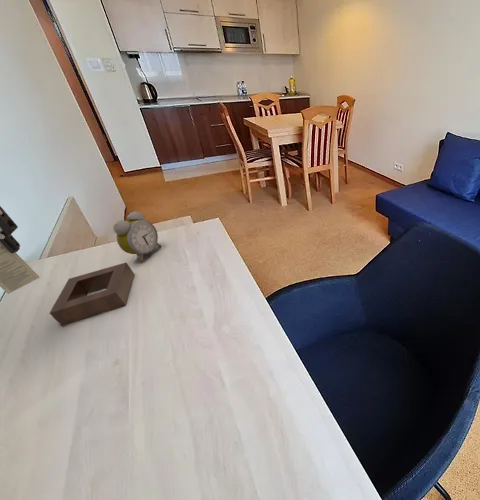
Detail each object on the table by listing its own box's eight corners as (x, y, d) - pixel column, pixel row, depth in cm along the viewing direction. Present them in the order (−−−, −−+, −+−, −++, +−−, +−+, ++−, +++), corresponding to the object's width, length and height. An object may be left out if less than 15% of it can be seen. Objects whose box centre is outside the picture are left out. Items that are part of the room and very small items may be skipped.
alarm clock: (143, 264, 101) (119, 226, 92) (126, 264, 102) (100, 226, 94) (165, 244, 110) (145, 208, 101) (149, 244, 111) (128, 208, 103)
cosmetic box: (34, 272, 74) (-5, 230, 67) (41, 277, 72) (1, 235, 65) (1, 289, 70) (-45, 246, 63) (6, 295, 68) (-40, 251, 61)
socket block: (61, 326, 81) (49, 313, 78) (79, 290, 93) (68, 278, 90) (125, 305, 85) (116, 292, 82) (134, 274, 97) (126, 262, 94)
